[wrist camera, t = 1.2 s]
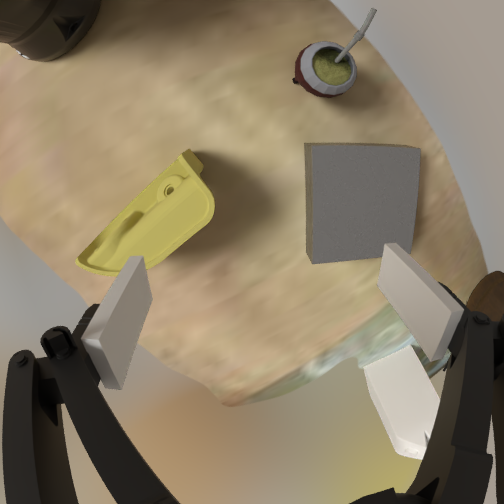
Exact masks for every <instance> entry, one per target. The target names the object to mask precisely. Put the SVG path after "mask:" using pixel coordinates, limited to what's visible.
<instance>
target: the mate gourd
mask: <svg viewBox="0 0 504 504" xmlns="http://www.w3.org/2000/svg"><path fill="white" fill-rule="evenodd" d="M376 11H377V10H376V9H373V8H371V10H370V13H369V14H368V16H367V18H366V20H365V22H364V24H363V26H362V27H361V29H360V31H357V33H356V34H355V35H354V36H353V37H354V38H353V39H352V40H351V41H350V43H349V44H348V45H347V46H346V47H345V48H344V47H342V46H340V45H338V44H336V43H333V42H326V41H322V42H318V43H313V44H310V45H308V46H307V47H306V48H305V49H303V50H302V51H301V52H300V54H299V56H298V58H297V60H296V62H295V78H293V79H292V80H293V83H294V84H295V83H299V84H300V85H301V86H303V87H304V88H305V89H306V91H308V92H310V93H312V94H314V95H316V96H319V97H327V98H331V97H335V96H338V95H342V94H343V93H344V92H346V91H347V90H348V89H349V88H350V87H351V86H352V85H353V83H354V81H355V79H356V73H357V67H356V64H355V61H354V59H353V57H352V55H351V54H350V53H349V52H348V51H349V50H350V49H351V48H352V47H353V46H354V45H355V44H356V43H357V42H358V41H360V40H361V39H362V38H363V36H364V33H365V32H366V30H367V28H368V27H369V25H370V23H371V21H372V19H373V17H374V15H375V13H376Z"/></svg>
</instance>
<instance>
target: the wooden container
mask: <svg viewBox="0 0 504 504" xmlns="http://www.w3.org/2000/svg"><path fill="white" fill-rule="evenodd" d="M466 307H467V308H468V309H469V310H470V311H471V312H472V311H479V312H482V313H484V314H486V315H487V316H488V317H489V318H490V319H491V321H500V320H501V318H502V316H503V314H504V273H502V272H501V271H495V272H493V273H490V274H489V275H487V276H486V277H485V278H484V279H482V280H481V281H480V283H479V284H478V285H477V286H476V288H475V289H474V291H473V292H472V294H471V296H470V298H469V300H468V302H467V305H466Z"/></svg>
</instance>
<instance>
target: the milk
mask: <svg viewBox="0 0 504 504" xmlns="http://www.w3.org/2000/svg"><path fill="white" fill-rule="evenodd" d="M364 371H365V376H366V380H367V385H368V389H369V394H370V396H371V398H372V400H373V402H374V405H375V407H376V409H377V411H378V413H379V416H380V418H381V420H382V422H383V424H384V426H385V429H386V431H387V433H388V435H389V437H390V440H391V442H392V444H393V447H394V449H395V451H396V452H397V453H398V454H400V455H402V456H406V457H411V458H415V459H421V460H423V457H424V454H425V451H426V448H427V445H428V442H429V439H430V436H431V433H432V429H433V426H434V422H435V419H436V415H437V411H438V407H439V404H440V399H439V397H438V395H437V393H436V391H435V389H434V387H433V385H432V383H431V381H430V379H429V377H428V375H427V373H426V372H425V370H424V368H423V366H422V364H421V362H420V361H419V359H418V357H417V355H416V353H415V351H414V350H413V348H412V346H411V345H409V346H407V347H405V348H403V349H401V350H399V351H397V352H394V353H392V354H390V355H388V356H386V357H384V358H382V359H380V360H377V361H375V362H373V363H371V364H368V365H366V366H364Z"/></svg>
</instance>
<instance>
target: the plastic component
mask: <svg viewBox="0 0 504 504" xmlns="http://www.w3.org/2000/svg"><path fill="white" fill-rule="evenodd" d="M202 170H203V164H202V163H201V162H200V160H199V159H198V158H197V157H196V156H195V155H194V153H193V152H192V151H191V150H190V149H188V150H186V151H185V152H183V153H182V154H181V155H180V156H178V159H177V160H176V161H175V162H174V163H172V164H171V165H170V166H169V167H168V168H167V169H166V170H165V171H164V172H162V173H161V174H160V175H159V176H158V177H157V178H156V179H155V180H154V181H153V182H152V183H150V184H149V185H148V186H147V187H146V188H145V189H144V190H143V191H142V192H141V193H140V194H139V195H138V196H137V197H136V198H135V199H134V200H133V201H132V202H131V203H130V204H129V205H128V206H127V207H126V208H125V209H124V210H123V211H122V212H121V213H120V214H119V215H118V216H117V217H116V218H115V219H114V220H113V221H112V222H111V223H110V224H109V225H108V226H107V227H106V228H105V229H104V230H103V231H102V232H101V233H100V234H99V235H98V236H97V238H96V239H95V240H94V241H93V242H92V243H91V244H90V245H89V246H88V247H87V248H86V249H85V250H84V251H83V252H82V253H81V254H80V255H79V256H78V258H77V259H76V261H75V262H76V264H77V265H78V266H79V267H81V268H82V269H85V270H87V271H89V272H92V273H95V274H99V275H104V276H118V274H119V273H120V271H121V270H122V268H123V266H124V265H125V263H126V262H127V260H128V259H129V257H130V256H143V257H144V262H145V267H146V270H148V269H150V268H152V267H153V266H155V265H157V264H158V263H160V262H161V261H162V260H164V259H165V258H166V257H167V256H168V255H170V254H171V253H172V252H173V251H174V250H176V249H177V248H178V247H179V246H181V245H182V244H183V243H184V242H185V241H187V240H188V239H189V238H190V237H192V236H193V235H194V234H195V233H196V232H198V231H199V230H200V229H201V228H203V227H204V226H205V225H206V224H208V223H209V222H210V220H211V218H212V217H213V214H214V210H215V199H214V196H213V193H212V191H211V190H210V189H209V187H208V186H207V185H206V184H205V182H204V181H203V180H202V178H201V176H200V173H201V171H202Z"/></svg>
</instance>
